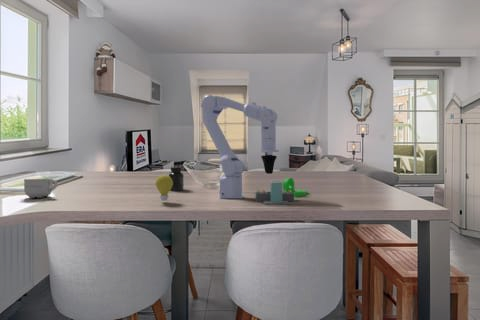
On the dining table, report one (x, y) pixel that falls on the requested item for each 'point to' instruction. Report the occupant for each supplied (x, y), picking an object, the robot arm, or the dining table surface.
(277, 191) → the plug
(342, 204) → the dining table surface
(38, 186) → the teacup
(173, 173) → the supplement bottle
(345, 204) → the dining table surface
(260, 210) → the dining table surface
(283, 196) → the box
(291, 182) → the mechanical part
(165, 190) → the light bulb
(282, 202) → the pad
